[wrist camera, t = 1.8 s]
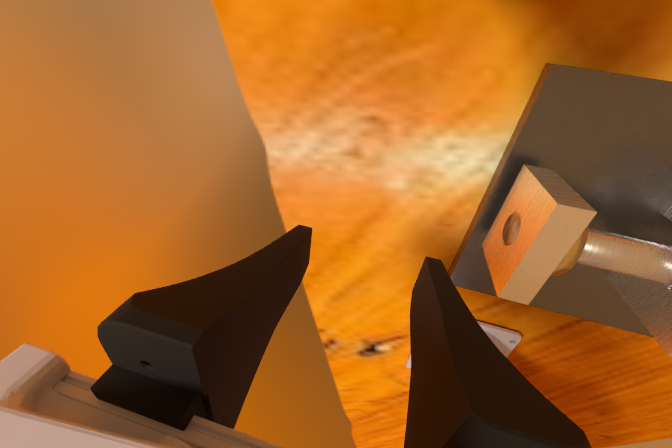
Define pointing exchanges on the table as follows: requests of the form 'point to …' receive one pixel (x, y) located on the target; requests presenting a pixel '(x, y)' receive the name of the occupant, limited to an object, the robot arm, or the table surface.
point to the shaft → (559, 239)
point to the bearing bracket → (592, 190)
